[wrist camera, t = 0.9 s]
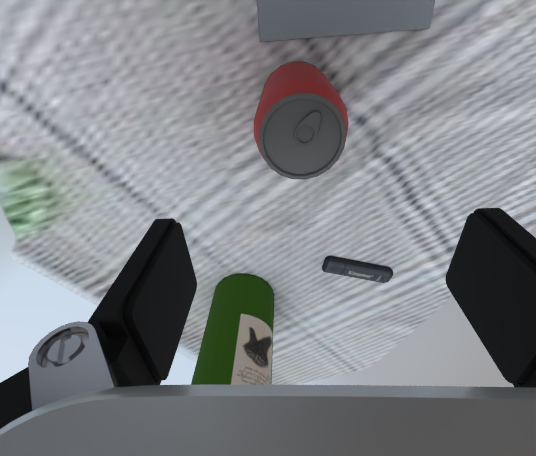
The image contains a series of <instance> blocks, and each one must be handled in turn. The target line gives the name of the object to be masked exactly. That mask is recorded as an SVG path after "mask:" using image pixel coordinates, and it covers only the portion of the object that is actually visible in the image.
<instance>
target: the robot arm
mask: <svg viewBox="0 0 536 456" xmlns="http://www.w3.org/2000/svg"><path fill="white" fill-rule="evenodd" d="M446 284H447V287H448V288H449V290H450V292H451V293H452V295H453V296H454V298H455V300H456V301H457V303H458V304H459V306H460V308H461V309H462V311H463V312H464V314H465V316H466V317H467V319H468V320H469V322H470V323H471V325H472V327H473V328H474V330H475V332H476V333H477V335H478V337H479V338H480V339H481V341H482V343H483V345H484V346H485V348H486V349H487V351H488V352H489V354H490V356H491V357H492V359H493V361H494V362H495V364H496V365H497V367H498V369H499V370H500V372H501V373H502V375H503V377H504V378H505V379H506V380H507V381H508V382H510V383H512V384H513V385H514V387H455V386H453V387H451V386H367V385H366V386H365V385H364V386H363V385H357V386H356V385H160V383H161V380H165V379H166V378H167V376H168V374H169V371H170V368H171V365H172V361H173V359H174V356H175V353H176V350H177V347H178V344H179V341H180V338H181V335H182V332H183V329H184V325H185V322H186V319H187V316H188V313H189V310H190V307H191V304H192V301H193V298H194V295H195V292H196V288H197V281H196V277H195V273H194V269H193V266H192V262H191V259H190V255H189V251H188V248H187V244H186V241H185V237H184V233H183V230H182V226H181V224H180V223H176V221H175V220H174V219H156V220H155V221H154V222H153V224H152V225H151V227H150V228H149V230H148V231H147V233H146V234H145V236H144V237H143V239H142V240H141V242H140V243H139V245H138V246H137V248H136V249H135V251H134V252H133V254H132V256H131V257H130V259H129V260H128V262H127V263H126V265H125V266H124V268H123V269H122V271H121V272H120V274H119V275H118V277H117V278H116V280H115V281H114V283H113V284H112V286H111V287H110V289H109V290H108V292H107V293H106V295H105V297H104V298H103V300H102V301H101V303H100V304H99V306H98V307H97V309H96V310H95V312H94V313H93V315H92V316H91V318H90V319H89V321H88V322H73V323H69V324H66V325H63V326H61V327H59V328H57V329H55V330H53V331H52V332H50V333H49V334H48V335H46V336H45V337H44V338H43V339H41V340H40V342H39V343H38V344H37V345H36V346H35V347H34V349H33V351H32V353H31V355H30V357H29V363H28V366H29V367H27V368H25V369H24V370H22V371H20V372H19V373H17V374H15V375H13V376H11V377H10V378H8V379H6V380H5V381H3V382H1V383H0V456H536V238H535V237H534V236H533V235H531V234H530V233H529V232H528V231H527V230H525V229H524V228H523V227H522V226H521V225H520V224H518V223H517V222H516V221H515V220H514V219H513V218H511V217H510V216H509V215H508V214H507V213H506V212H504V211H503V210H502V209H500V208H480V209H476V210H475V211H474V213H471V214H470V215H469V216H468V218H467V220H466V223H465V226H464V228H463V231H462V234H461V236H460V239H459V242H458V245H457V247H456V250H455V253H454V255H453V258H452V261H451V264H450V266H449V269H448V272H447V274H446Z"/></svg>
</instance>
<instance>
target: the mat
mask: <svg viewBox="0 0 536 456" xmlns="http://www.w3.org/2000/svg"><path fill="white" fill-rule="evenodd" d="M434 3H435V0H257V7H258V22H259V36H260V42H262V41H275V40H288V39H301V38H314V37H327V36H340V35H353V34H366V33H379V32H392V31H404V30H417V29H429V28H430V23H431V18H432V13H433V8H434Z"/></svg>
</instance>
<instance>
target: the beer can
mask: <svg viewBox="0 0 536 456" xmlns="http://www.w3.org/2000/svg"><path fill="white" fill-rule="evenodd" d="M347 130H348V117H347V111H346V107H345V105H344V103H343V102H342V100H341V98H340V96H339V94H338V93H337V92H336V90H335V89H334V88H333V86H332V85H331V84H330V82H329V81H328V80H327V78H326V77H325V76H324V74H323V73H322V72H320V71H319V70H318V69H317V68H316V67H315V66H312V65H310V64H307V63H305V62H291V63H288V64H285V65H282V66H280V67H279V68H278V69H277V70H275V71H274V72H273V73H272V74H271V75H270V77H269V78H268V80H267V81H266V83H265V85H264V88H263V92H262V95H261V98H260V102H259V105H258V108H257V112H256V115H255V119H254V137H255V140H256V143H257V146H258V149H259V151H260V153H261V154H262V156H263V158H264V160H265V161H266V162H267V164H268V165H269V166H270V168H271V169H273V170H274V171H276V172H277V173H278V174H280V175H282V176H285V177H288V178H291V179H309V178H312V177H316V176H319V175H320V174H322V173H324V172H326V171H327V170H329V169H330V168H331V167H332V166H333V165H334V164H335V162H336V161H337V160H338V159H339V157H340V155H341V153H342V151H343V149H344V146H345V141H346V136H347Z"/></svg>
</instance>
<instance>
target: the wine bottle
mask: <svg viewBox="0 0 536 456" xmlns="http://www.w3.org/2000/svg"><path fill="white" fill-rule="evenodd" d="M273 319H274V294H273V291H272V289H271V287H270V286H269V285H268V283H267V282H265V281H264V280H263V279H261V278H259V277H256V276H254V275H249V274H236V275H231V276H229V277H226V278H224V279H223V280H222V281H221V282H220V283H219V284H218V286H217V287H216V289H215V293H214V297H213V300H212V304H211V308H210V312H209V316H208V320H207V324H206V328H205V332H204V336H203V340H202V344H201V348H200V352H199V356H198V360H197V364H196V367H195V372H194V375H193V379H192V383H191V385H271V380H272V349H273Z"/></svg>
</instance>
